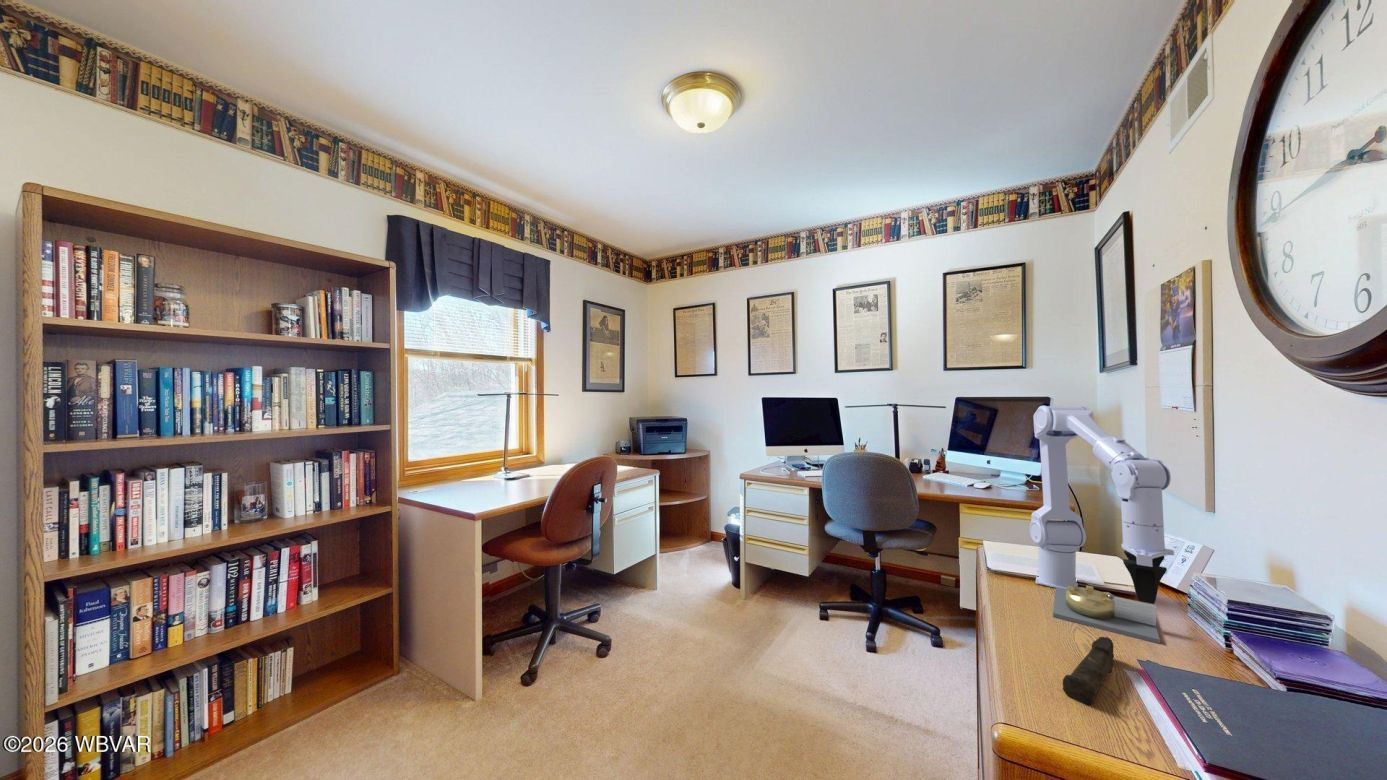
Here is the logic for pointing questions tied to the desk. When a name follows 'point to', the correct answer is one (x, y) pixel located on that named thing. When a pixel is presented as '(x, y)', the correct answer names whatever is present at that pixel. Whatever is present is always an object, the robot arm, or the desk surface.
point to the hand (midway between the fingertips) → (1145, 596)
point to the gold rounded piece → (1108, 605)
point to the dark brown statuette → (1090, 672)
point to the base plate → (1104, 620)
